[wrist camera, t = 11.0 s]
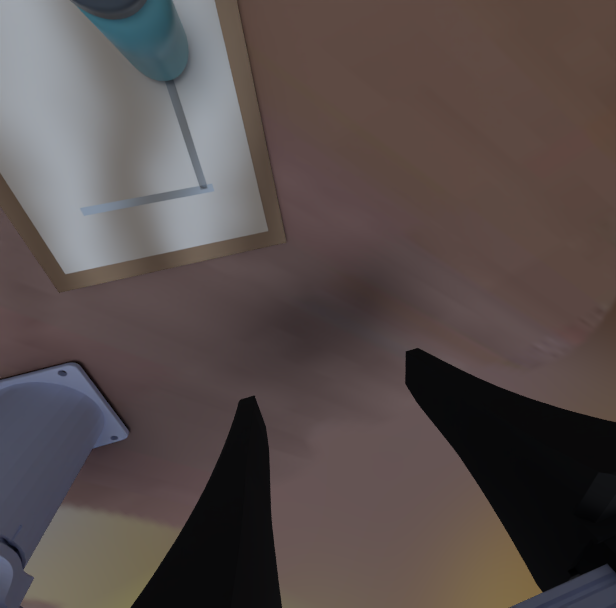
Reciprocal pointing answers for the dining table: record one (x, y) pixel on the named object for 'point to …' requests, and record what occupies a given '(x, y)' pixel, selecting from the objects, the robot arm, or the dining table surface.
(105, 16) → the marker
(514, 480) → the robot arm
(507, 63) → the dining table surface
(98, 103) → the writing board
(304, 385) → the dining table surface
